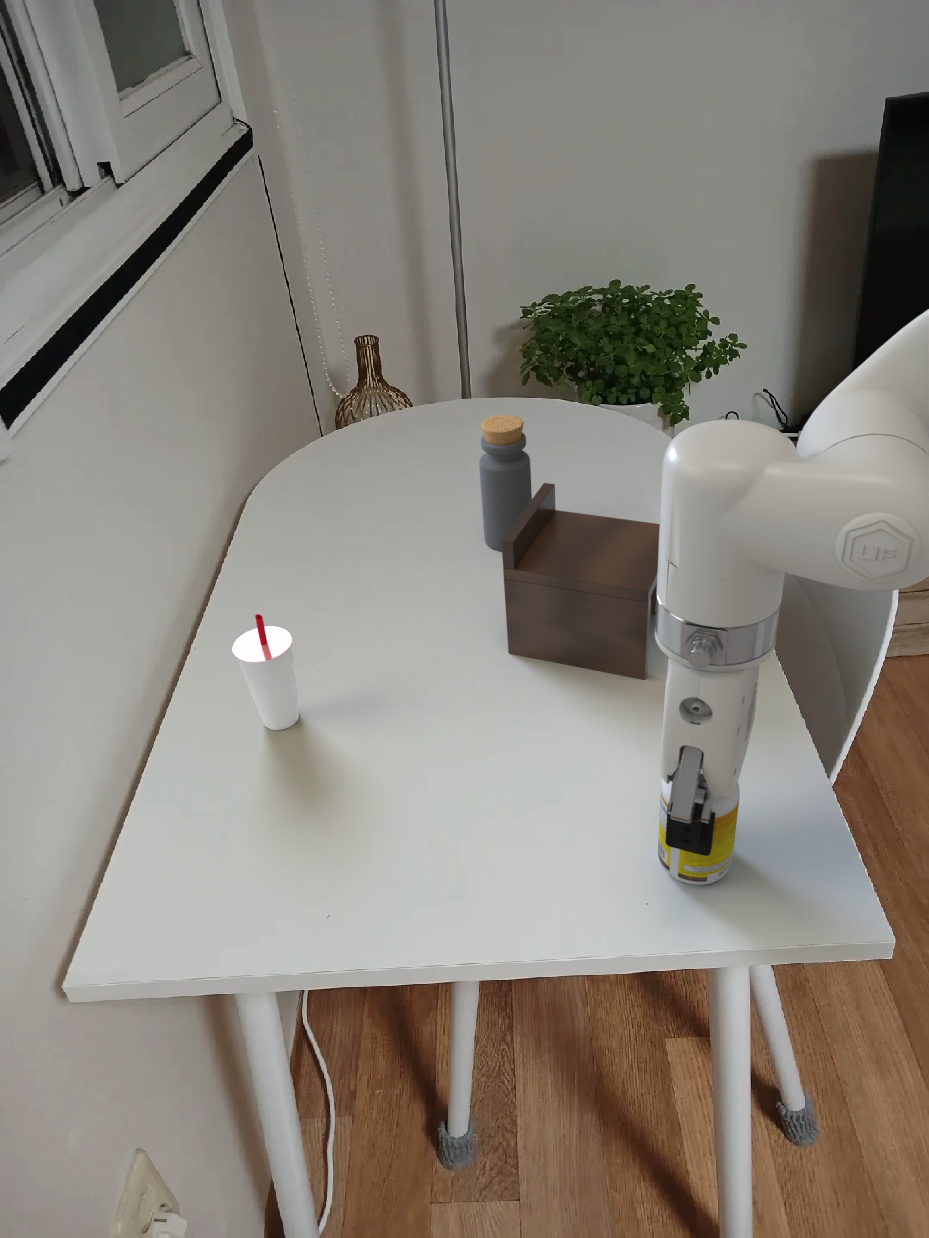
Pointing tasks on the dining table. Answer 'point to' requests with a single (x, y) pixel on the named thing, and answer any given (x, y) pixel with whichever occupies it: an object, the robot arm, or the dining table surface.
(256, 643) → the cup
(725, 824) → the supplement bottle
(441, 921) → the dining table surface
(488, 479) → the bottle
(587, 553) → the shelf
